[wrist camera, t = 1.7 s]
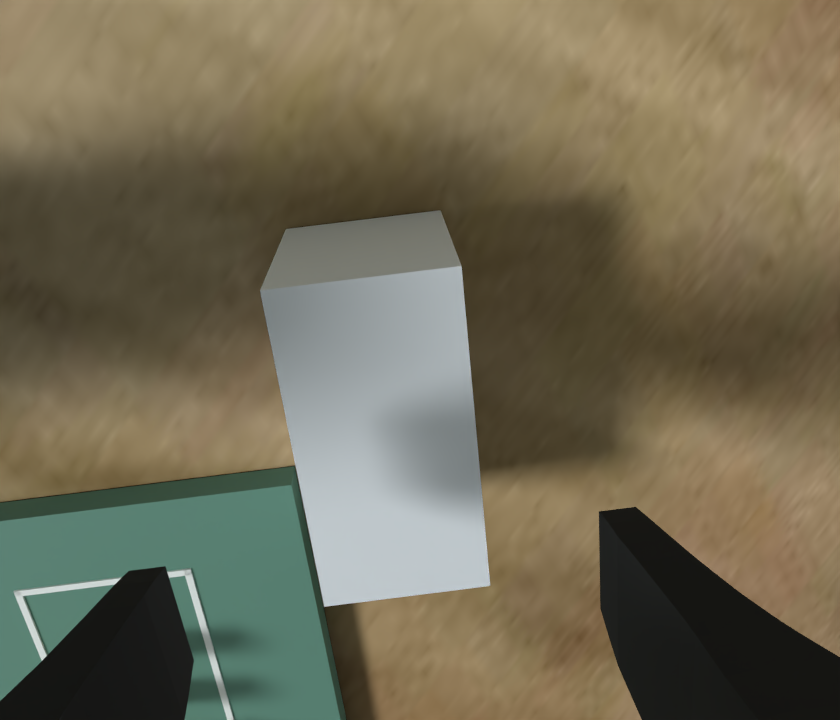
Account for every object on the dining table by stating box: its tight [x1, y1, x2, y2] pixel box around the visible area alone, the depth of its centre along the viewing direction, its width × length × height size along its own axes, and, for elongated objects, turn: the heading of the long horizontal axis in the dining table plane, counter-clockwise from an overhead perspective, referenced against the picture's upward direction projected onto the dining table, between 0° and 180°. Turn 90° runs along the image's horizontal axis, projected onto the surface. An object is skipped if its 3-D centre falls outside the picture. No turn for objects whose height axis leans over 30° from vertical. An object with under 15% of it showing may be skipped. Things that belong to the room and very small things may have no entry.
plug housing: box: [260, 210, 490, 607], centre depth 19 cm, size 4×8×5 cm, turn 6°
